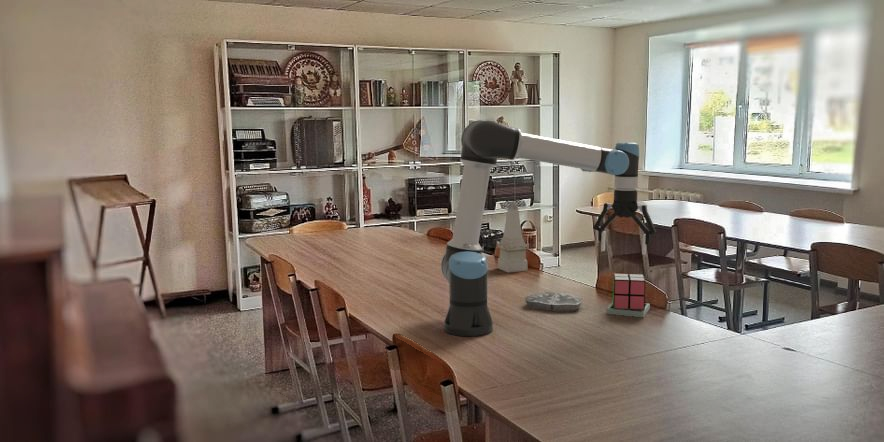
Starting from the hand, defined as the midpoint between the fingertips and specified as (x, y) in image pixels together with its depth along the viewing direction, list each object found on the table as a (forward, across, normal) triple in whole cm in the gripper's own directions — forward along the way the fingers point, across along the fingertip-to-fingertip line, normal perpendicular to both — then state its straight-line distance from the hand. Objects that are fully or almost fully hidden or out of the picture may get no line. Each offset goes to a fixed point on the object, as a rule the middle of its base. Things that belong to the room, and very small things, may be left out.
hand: (623, 252), depth 233 cm
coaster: (+20, -2, 0) cm, 20 cm away
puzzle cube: (+18, -2, 0) cm, 18 cm away
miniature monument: (+20, +57, -48) cm, 77 cm away
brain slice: (+21, +22, +4) cm, 31 cm away
